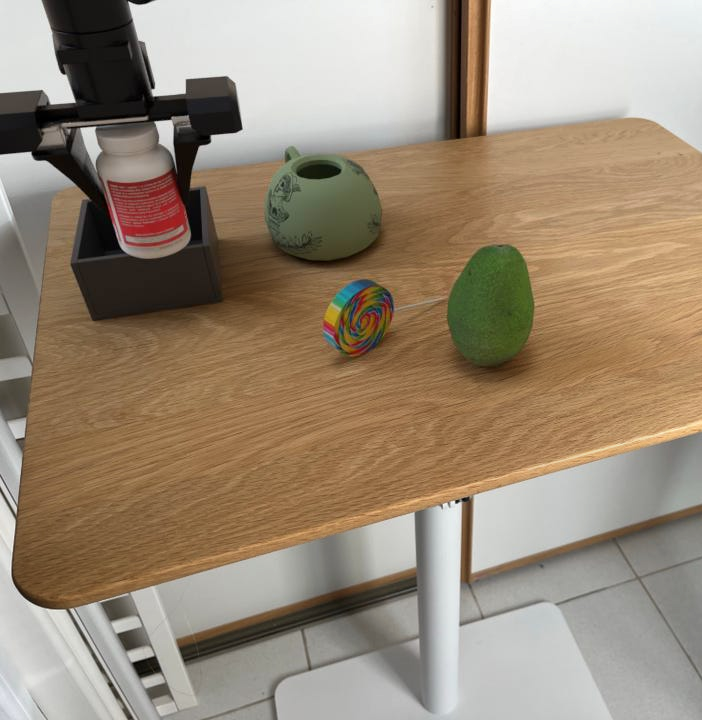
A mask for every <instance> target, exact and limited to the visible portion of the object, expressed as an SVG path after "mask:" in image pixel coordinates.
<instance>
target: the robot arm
mask: <svg viewBox="0 0 702 720" xmlns="http://www.w3.org/2000/svg"><path fill="white" fill-rule="evenodd" d="M40 1H41V3H42V6H43V9H44V12H45V15H46V18H47V22H48V24H49V27H50V31H51V33H52V34H51V37H52V42H53V43H52V45H53V51H54V56H55V60H56V63H57V67H58V70H59V72H60V74H61V75H63V76H66V79H67V81H68V84H69V87H70V91H71V93H72V95H73V99H74V102H66V103H65V102H64V103H53V104H51V101H50V98H49V96H48V95H47V93H46V92H45V90H43V89H37V90H35V89H34V90H23V91H10V92H9V91H8V92H0V156H3V155H15V154H25V153H30V155H31V157H32V160H34V161H36V162H43V161H44V162H47V163H49V164H50V165H51V166H52V167H53V168H55V169H56V170H57V171H58V172H60V173H61V174H63V175H64V176H65V177H66V178H67V179H68V180H70V181H71V182H72V183H73V184H74V185H75V186H76V187H77V188H78V189H79V190H80V191H81V192H82V193H83V194H84V195H85V196H86V197H87V199H90V200H91V201H92V202H93V203H94V204H95V205H96V206H97V207H98V208H99V209H100V210H101V211H102V212H103V213H104V214H109V209H108V206H107V203H106V199H105V196H104V193H103V190H102V186H101V184H100V180H99V177H98V174H97V170H96V166H95V165H94V163H93V160H92V159H91V156H90V154H89V152H88V150H87V147H86V144H85V141H84V137H83V133H82V130H81V129H86V128H96V127H98V126H110V125H121V124H133V123H144V122H155V123H156V122H164V121H165V122H167V121H171V123H172V127H173V133H172V134H173V137H172V145H173V153H174V162H175V167H176V172H177V177H178V184H179V192H180V196H181V199H182V202H183V205H188V201H189V192H190V188H191V184H192V183H191V182H192V173H193V168H194V165H195V161H196V158H197V155H198V151H199V149H200V147H202V146H207V145H210V144H211V143H212V136H218V135H229V134H237V133H239V132H241V131H243V120H242V113H241V106H240V105H241V104H240V101H239V95H238V90H237V85H236V82H235V81H234V80H232V79H231V78H230V77H229V76H228V75H222V76H221V75H220V76H209V77H194V78H185V93H177V94H166V95H165V94H164V95H156V96H155V95H154V93H153V90H156V80H155V77H154V74H153V69H152V66H151V62H150V58H149V54H148V51H147V46H146V42H145V41H143V40H139V37H138V33H137V30H136V27H135V22H134V19H133V13H132V10H131V7H130V4H129V3H131V4H133V5H136V6H142V5H146V4H151V3H152V2H155V1H157V0H40Z"/></svg>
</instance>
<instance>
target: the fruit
mask: <svg viewBox="0 0 702 720" xmlns="http://www.w3.org/2000/svg"><path fill="white" fill-rule="evenodd" d="M446 310H447V312H446V322H447V326H448V329H449V333H450V337H451V339H452V341H453V345H454V346H455V347H456V348H457V350H458V351H459V352H460V353H461V355H462V356H463V357H464V358H465V359H466V360H467V361H468V362H470V363H471V364H473V365H475V366H478V367H487V368H488V367H489V368H490V367H497V366H499V365H501V364H504V363H507V362H508V361H511V360H513V359H514V358H515V357H516V356H517V355H518V354H519V353H520V352H521V351H522V350H523V349H524V348H525V346H526V344H527V342H528V340H529V338H530V335H531V332H532V330H533V326H534V318H535V317H534V315H535V299H534V294H533V289H532V284H531V278H530V274H529V269H528V265H527V262H526V260H525V258H524V255H523V254H522V253H521V252H520V250H519V249H518V248H517V247H515V246H513V245H512V244H508V243H505V244H504V243H503V244H502V243H501V244H500V243H498V244H489V245H485V246H483V247H480V248H479V249H478V250H476V251H475V252H474V253H473V254H472V256H471V257H470V258H469V259H468V261H467V263H466V264H465V266H464V267H463V269H462V270H461V273H460V274H459V276H458V278H456V280H455V281H454V283H453V286H452V288H451V291H450V294H449V295H448V301H447V309H446Z"/></svg>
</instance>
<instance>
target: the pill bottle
mask: <svg viewBox="0 0 702 720" xmlns="http://www.w3.org/2000/svg"><path fill="white" fill-rule="evenodd" d="M94 133H95V137H96V141H97V145H98V147H99V149H100V150H101V152H99V154H98V155H97V157H96V159H95V170H96V172H97V174H98V177H99V180H100V184H101V186H102V190H103V193H104V196H105V199H106V203H107V206H108V209H109V212H110V216H111V219H112V222H113V226H114V229H115V232H116V236H117V239H118V242H119V244H120V247H121V248H122V250H123V251H125V252H126V253H127V254H129V255H131V256H134V257H138V258H144V259H152V258H160V257H164V256H168V255H171V254H174V253H176V252H178V251H180V250H181V249H183V248H184V247H185V246H186V245H187V244H188V243H189V241H190V237H191V232H190V227H189V223H188V218H187V214H186V210H185V205H183V202H182V199H181V196H180V192H179V184H178V177H177V169H176V162H175V159H174V156H173V154H172V153H171V151H170V150H169V149H168V148H167V147H166V146H164V145H163V144H161V143H160V133H159V130H158V127H157V124H156V122H144V123H133V124H121V125H110V126H98V127H95V130H94Z"/></svg>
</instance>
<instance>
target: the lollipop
mask: <svg viewBox="0 0 702 720" xmlns="http://www.w3.org/2000/svg"><path fill="white" fill-rule="evenodd" d="M445 300H446V298H445V297H440V298H435V299H431V300H426V301H422V302H419V303H414V304H410V305H404V306H400V307H397V308H395V303H394V299H393V296H392V294H391V293H390V291H389V290H388V289H386V288H385V287H384V286H382V285H380V284H379V283H378V282H375V281H374V280H373V279H365V278H364V279H358V280H355V281H353V282H350V283H348V284H347V285H346V286H344V287H343V288H342V289H340V290H339V291H338V293H336V295H335V296H334V298H333V299H332V300H331V302H330V303H329V305H328V307H327V309H326V311H325V314H324V318H323V322H322V333H323V337H324V340H325V341H326V343H327V344H328V345H329V346H330V347H331V348H333V349H334V350H335V351H337V352H338V353H340V354H341V355H343V356H345V357H352V358H354V357H359V356H362V355H364V354H367V352H369V351H371V350H372V349H374V348H375V347H376V346H377V345H378V344H379V343H380V342H381V340H382V339H383V338H384V336H385V335H386V334H387V332H388V330H389V329H390V326H391V323H392V322H393V321H392V320H393V318H394V313H395V312H398V311H403V310H408V309H411V308H415V307H421V306H425V305H430V304H433V303H438V302H441V301H445Z"/></svg>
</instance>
